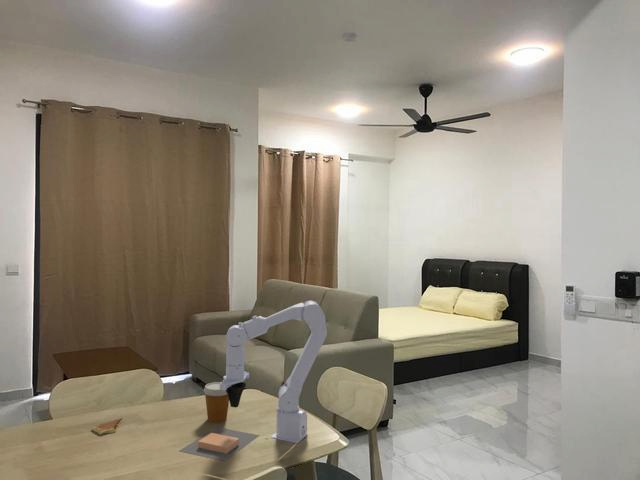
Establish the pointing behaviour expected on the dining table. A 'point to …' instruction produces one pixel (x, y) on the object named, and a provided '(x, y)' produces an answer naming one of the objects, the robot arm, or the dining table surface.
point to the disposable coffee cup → (216, 402)
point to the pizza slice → (107, 427)
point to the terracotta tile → (218, 443)
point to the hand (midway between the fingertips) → (234, 406)
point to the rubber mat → (194, 449)
